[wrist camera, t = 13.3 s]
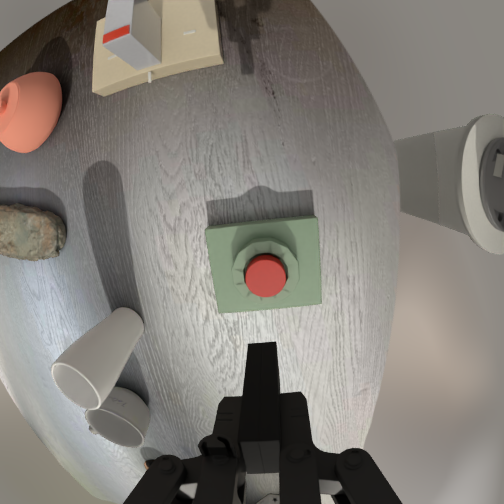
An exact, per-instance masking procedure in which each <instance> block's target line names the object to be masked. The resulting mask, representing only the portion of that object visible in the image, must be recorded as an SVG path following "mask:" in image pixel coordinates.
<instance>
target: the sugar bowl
mask: <svg viewBox="0 0 504 504" xmlns="http://www.w3.org/2000/svg"><path fill="white" fill-rule="evenodd" d="M61 107H62V91H61V86H60V83H59V81H58V79H57V78H56V77H55V76H54V75H53V74H51V73H47V72H33V73H29V74H26V75H23V76H21V77H19V78H17V79H15V80H13V81H12V82H10V83H8V84H7V85H6V86H5V87H4V88H3V89H2V91H1V92H0V141H1V142H2V143H3V144H4V145H5V146H6V147H7V148H9V149H11V150H13V151H16V152H20V153H28V152H31V151H33V150H35V149H37V148H38V147H39V146H40V145H42V144H43V143H44V141H45V140H46V139H47V138H48V137H49V135H50V134H51V133H52V131H53V129H54V128H55V126H56V125H57V122H58V119H59V116H60V112H61Z"/></svg>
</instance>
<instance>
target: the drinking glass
mask: <svg viewBox="0 0 504 504" xmlns="http://www.w3.org/2000/svg"><path fill="white" fill-rule="evenodd" d="M143 333H144V324H143V321H142V319H141V318H140V316H139V315H138V314H137V313H136V312H135V311H133V310H132V309H130V308H126V307H120V308H117V309H115V310H114V311H113V312H112V313H111V314H110V315H109V316H107V317H106V318H105V319H104V320H102V321H101V322H100V323H98V324H97V325H96V326H94V327H93V328H92V329H90V330H89V331H88V332H87V333H85V334H84V335H83V336H81V337H80V338H79V339H77V340H76V341H75V342H74V343H72V344H71V345H70V346H69V347H68V348H67V349H66V350H65V351H64V352H63V353H62V354H61V355H60V356H59V357H58V359H57V360H56V361H55V362H54V363H53V364H52V367H51V374H52V377H53V380H54V382H55V384H56V385H57V387H58V388H59V389H60V391H61V392H62V393H63V394H64V395H65V396H66V397H67V398H68V399H69V400H71V401H72V402H73V403H75V404H76V405H78V406H80V407H82V408H85V409H88V410H96V409H98V408H99V407H100V406H101V405H102V403H103V402H104V401H105V399H106V398H107V396H108V395H109V394H110V392H111V391H112V389H113V387H114V386H115V384H116V382H117V380H118V378H119V376H120V375H121V373H122V371H123V369H124V367H125V365H126V363H127V361H128V359H129V357H130V355H131V353H132V352H133V350H134V348H135V346H136V344H137V343H138V341H139V340H140V338H141V337H142V335H143Z"/></svg>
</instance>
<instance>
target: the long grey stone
mask: <svg viewBox="0 0 504 504" xmlns="http://www.w3.org/2000/svg"><path fill="white" fill-rule="evenodd" d="M65 239H66V229H65V226H64V224H63V221H62V220H61V218H60V217H58V216H56V215H55V214H54V213H52V212H49V211H48V210H47V211H44V212H43V211H41V210H40V209H39V208H37V207H30V206H25V205H23V204H20V203H17V204H14V205H11V206H6V205H0V254H2V255H3V256H7V257H10V258H11V257H12V258H16V259H19V260H20V259H22V260H26V259H27V260H29V261H38V260H39V259H40V260H41V259H43V260H45V259H48V258H50V257H52V258H54V257H58V256H59V254H60V253H59V250H60V249H62V248H63V247H64V244H65Z"/></svg>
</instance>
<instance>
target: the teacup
mask: <svg viewBox="0 0 504 504" xmlns="http://www.w3.org/2000/svg"><path fill="white" fill-rule="evenodd" d="M85 418H86V420H87V422H88V423H89V425H90V426H89V430H90V431H91V432H92V433H93V434H100V435H101V436H102V437H104V438H106V439H107V440H109V441H111V442H113V443H115V444H118V445H121V446H125V447H131V448H137V447H140V446H142V445H143V444H144V442H145V436H146V433H147V430H148V427H149V423H150V412H149V409H148V407H147V406H146V404H145V403H144V402H143V400H142V399H141V398H140V397H139V396H138V395H137V394H135V393H134V392H132V391H130V390H128V389H126V388H122V387H113V389H112V391H111V392H110V394H109V395H108V396H107V398H106V399H105V401H104V402H103V403H102V405H101V406H100V407H99V408H98V409H96V410H88V409H87V410H86V411H85Z"/></svg>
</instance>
